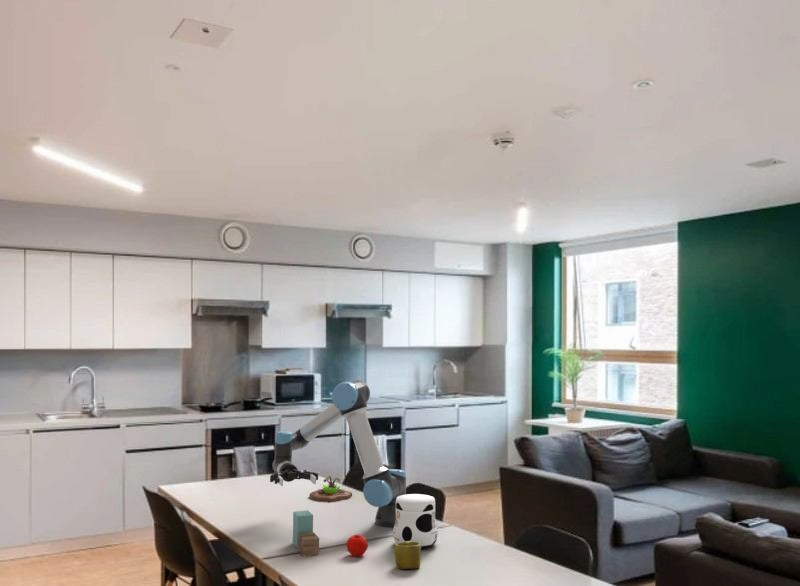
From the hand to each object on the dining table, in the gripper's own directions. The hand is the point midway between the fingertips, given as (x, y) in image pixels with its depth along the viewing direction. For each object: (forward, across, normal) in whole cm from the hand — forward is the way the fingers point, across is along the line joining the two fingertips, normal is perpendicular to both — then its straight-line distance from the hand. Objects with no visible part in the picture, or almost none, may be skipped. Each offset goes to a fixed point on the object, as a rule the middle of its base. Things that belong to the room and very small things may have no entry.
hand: (298, 481), depth 284 cm
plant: (-67, -33, -24) cm, 78 cm away
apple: (+30, -16, -22) cm, 40 cm away
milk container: (+25, -41, -21) cm, 53 cm away
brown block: (+19, 0, -22) cm, 29 cm away
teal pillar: (+10, 0, -22) cm, 24 cm away
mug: (+47, -29, -21) cm, 59 cm away
